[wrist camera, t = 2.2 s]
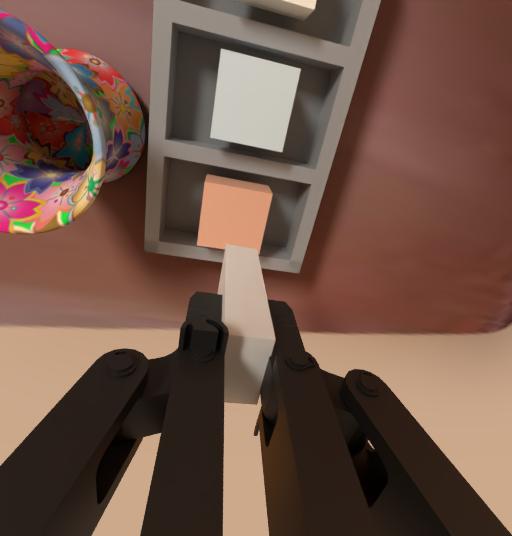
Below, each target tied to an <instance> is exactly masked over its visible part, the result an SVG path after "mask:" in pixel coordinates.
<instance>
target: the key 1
mask: <svg viewBox="0 0 512 536" xmlns="http://www.w3.org/2000/svg"><path fill="white" fill-rule="evenodd" d="M272 195H273V194H272V192H271V190H270V188H269V186H268V185H263V184H258V183H252V182H247V181H242V180H236V179H231V178H226V177H220V176H215V175H210V174H207V175H206V179H205V183H204V191H203V199H202V207H201V215H200V224H199V232H198V240H197V245H198V246H205V247H211V248H218V249H225V247H226V244H228V245H235V246H241V247H248V248H255V249H257V251H258V255H259V253H260V248H261V244H262V239H263V235H264V231H265V226H266V222H267V217H268V213H269V208H270V204H271V200H272Z"/></svg>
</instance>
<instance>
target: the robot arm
mask: <svg viewBox="0 0 512 536" xmlns="http://www.w3.org/2000/svg"><path fill="white" fill-rule="evenodd" d="M260 395H261V404H262V406H261V410H260V413H259V416H258V419H257V423H256V426H255V430H254V436H257V435H258V431H260V441H261V452H262V463H263V473H264V484H265V495H266V505H267V516H268V527H269V536H512V535H511V534H510V532H509V531H508V530H507V529H506V528H505V527H504V525H503V524H502V523H501V522H500V520H499V519H498V518H497V517H496V516H495V514H494V513H493V512H492V511H491V510H490V508H489V507H488V506H487V505H486V504H485V502H484V501H483V500H482V499H481V498H480V496H479V495H478V494H477V493H476V492H475V490H474V489H473V488H472V487H471V486H470V484H469V483H468V482H467V481H466V480H465V478H464V477H463V476H462V475H461V474H460V473H459V471H458V470H457V469H456V468H455V466H454V465H453V464H452V463H451V462H450V461H449V459H448V458H447V457H446V456H445V454H444V453H443V452H442V451H441V450H440V448H439V447H438V446H437V445H436V444H435V443H434V441H433V440H432V439H431V438H430V436H429V435H428V434H427V433H426V432H425V431H424V429H423V428H422V427H421V426H420V424H419V423H418V422H417V421H416V419H415V418H414V417H413V416H412V415H411V413H410V412H409V411H408V410H407V409H406V407H405V406H404V405H403V404H402V403H401V402H400V400H399V399H398V398H397V397H396V396H395V394H394V393H393V392H392V391H391V389H390V388H389V387H388V386H387V385H386V384H385V383H384V382H383V381H382V380H381V379H380V378H379V377H377V376H376V375H374V374H372V373H371V372H368V371H365V370H358V369H354V370H351V371H349V372H348V373H347V375H346V376H345V378H343V377H340V376H337V375H334V374H331V373H328V372H326V371H324V370H322V369H320V367H319V364H318V363H317V361H316V359H315V358H314V357H312V355H311V354H309V353H308V352H306V351H305V349H304V346H303V342H302V339H301V336H300V333H299V330H298V327H297V323H296V320H295V317H294V314H293V311H292V309H291V308H290V307H289V306H288V305H287V304H286V302H282V301H274V300H267V295H266V290H265V285H264V280H263V276H262V271H261V266H260V261H259V256H258V251H257V249H255V248H248V247H241V246H235V245H228V244H226V247H225V253H224V259H223V264H222V270H221V276H220V282H219V288H218V294H212V293H204V292H196V293H195V294H194V295H193V296H192V297H191V298H190V301H189V306H188V311H187V316H186V321H185V322H184V323H183V325H182V327H181V329H180V338H179V347H178V349H177V350H176V351H174V352H173V353H171V354H169V355H167V356H165V357H161V358H156V359H150V360H148V359H147V358H146V357H145V356H144V354H143V353H141V352H139V351H136V350H133V349H118V350H113V351H111V352H108V353H106V354H104V355H103V356H101V357H100V358H99V359H97V360H96V361H95V363H94V364H93V365H92V366H91V367H90V368H89V369H88V370H87V372H85V374H84V375H83V376H82V377H81V378H80V379H79V380H78V381H77V382H76V383H75V384H74V386H73V387H72V388H71V389H70V390H69V391H68V392H67V393H66V394H65V395H64V397H63V398H62V399H61V400H60V401H59V402H58V403H57V404H56V406H54V408H53V409H52V410H51V411H50V412H49V413H48V414H47V415H46V416H45V418H44V419H43V420H42V421H41V422H40V423H39V424H38V425H37V426H36V427H35V429H34V430H33V431H32V432H31V433H30V434H29V435H28V436H27V437H26V438H25V439H24V441H23V442H22V443H21V444H20V445H19V446H18V447H17V448H16V449H15V451H14V452H13V453H12V454H11V455H10V456H9V457H8V458H7V459H6V460H5V461H4V463H3V464H2V465H1V466H0V536H91V535H92V534H93V531H94V530H95V528H96V526H97V524H98V522H99V520H100V518H101V517H102V515H103V513H104V511H105V509H106V507H107V505H108V503H109V502H110V500H111V498H112V496H113V494H114V492H115V490H116V488H117V487H118V485H119V483H120V481H121V479H122V477H123V475H124V473H125V471H126V470H127V468H128V466H129V464H130V462H131V460H132V458H133V456H134V455H135V453H136V451H137V449H138V447H139V445H140V443H141V441H142V439H143V437H145V436H150V435H153V434H157V433H161V437H160V442H159V447H158V452H157V456H156V461H155V466H154V471H153V476H152V481H151V486H150V491H149V496H148V501H147V505H146V511H145V515H144V520H143V525H142V530H141V535H140V536H223V453H224V402H228V403H243V404H256V405H257V403H258V399H259V396H260ZM368 440H369V441H370V443H371V444H372V446H373V447H374V449H373V448H372V447H371V446H370V444H369V443H368Z"/></svg>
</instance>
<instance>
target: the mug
mask: <svg viewBox="0 0 512 536" xmlns="http://www.w3.org/2000/svg"><path fill="white" fill-rule="evenodd" d="M144 142H145V122H144V117H143V113H142V110H141V107H140V104H139V102H138V100H137V98H136V96H135V94H134V92H133V91H132V89H131V88H130V86H129V85H128V83H127V82H126V81H125V80H124V78H123V77H122V76H121V75H120V74H119V73H118V72H117V71H116V70H115V69H114V68H112V67H111V66H110V65H108V64H107V63H106V62H104V61H103V60H101V59H99V58H97V57H95V56H93V55H91V54H89V53H86V52H83V51H79V50H74V49H55V48H54V47H53V46H52V45H51V44H50V43H49V42H48V41H47V40H46V39H45V38H43V37H42V36H41V35H40V34H39V33H38V32H36V31H35V30H33V29H32V28H31V27H29V26H28V25H27V24H25V23H24V22H22V21H20V20H19V19H17V18H15V17H14V16H12V15H10V14H8V13H6V12H4V11H2V10H0V232H5V233H13V234H38V233H44V232H49V231H53V230H56V229H59V228H61V227H64V226H66V225H68V224H69V223H71V222H73V221H74V220H76V219H77V218H79V217H80V216H81V215H82V214H83V213H84V212H85V211H86V210H87V209H88V208H89V207H90V206H91V204H92V203H93V201H94V200H95V198H96V197H97V195H98V193H99V191H100V188H101V185H102V183H106V182H110V181H114V180H116V179H119V178H121V177H122V176H124V175H125V174H127V173H128V172H129V171H130V170H131V169H132V168H133V167H134V166H135V164H136V163H137V162H138V160H139V158H140V156H141V153H142V151H143V147H144Z"/></svg>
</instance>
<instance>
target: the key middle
mask: <svg viewBox="0 0 512 536" xmlns="http://www.w3.org/2000/svg"><path fill="white" fill-rule="evenodd" d="M300 71H301V69H300V68H296V67H292V66H288V65H284V64H280V63H276V62H272V61H268V60H264V59H260V58H257V57H253V56H249V55H245V54H241V53H237V52H233V51H229V50H225V49H221V53H220V61H219V69H218V77H217V86H216V94H215V102H214V110H213V118H212V126H211V134H210V138H215V139H220V140H224V141H229V142H234V143H239V144H244V145H249V146H254V147H258V148H263V149H268V150H273V151H278V152H282V151H283V146H284V142H285V138H286V133H287V129H288V124H289V120H290V115H291V111H292V107H293V102H294V98H295V93H296V89H297V85H298V80H299V76H300Z"/></svg>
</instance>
